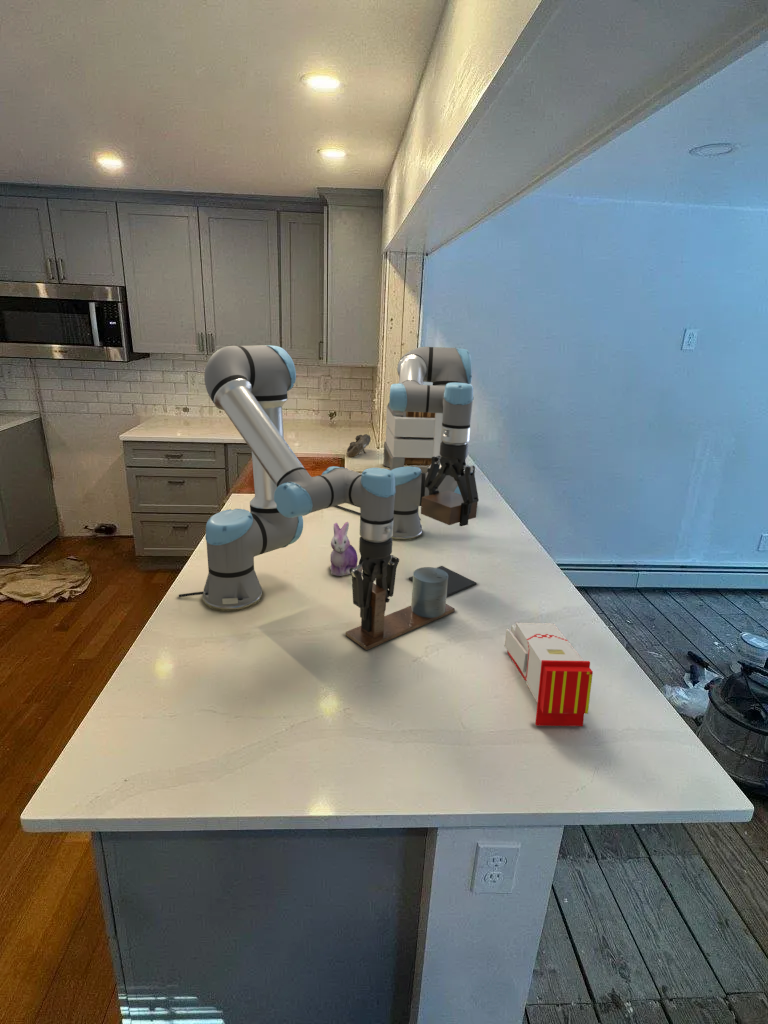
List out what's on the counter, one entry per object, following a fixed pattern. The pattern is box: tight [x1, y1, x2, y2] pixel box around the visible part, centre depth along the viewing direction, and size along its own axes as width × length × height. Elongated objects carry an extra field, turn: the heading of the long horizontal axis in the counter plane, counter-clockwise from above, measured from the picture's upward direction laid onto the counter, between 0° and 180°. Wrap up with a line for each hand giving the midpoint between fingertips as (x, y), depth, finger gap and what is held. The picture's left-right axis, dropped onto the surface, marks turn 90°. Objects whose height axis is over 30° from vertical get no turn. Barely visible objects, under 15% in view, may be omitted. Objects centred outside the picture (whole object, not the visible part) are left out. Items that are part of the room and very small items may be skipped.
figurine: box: [329, 521, 359, 577], centre depth 168 cm, size 9×10×15 cm
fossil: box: [346, 433, 372, 458], centre depth 305 cm, size 22×10×15 cm
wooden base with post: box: [345, 566, 455, 651], centre depth 141 cm, size 30×9×13 cm, turn 131°
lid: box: [420, 491, 479, 526], centre depth 158 cm, size 11×11×5 cm
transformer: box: [383, 402, 435, 471], centre depth 268 cm, size 34×33×41 cm
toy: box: [503, 622, 594, 727], centre depth 121 cm, size 12×13×30 cm
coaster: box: [408, 565, 477, 598], centre depth 166 cm, size 14×14×1 cm
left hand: (372, 626), depth 136 cm, fingers closed on wooden base with post, 3 cm apart
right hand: (448, 518), depth 159 cm, fingers closed on lid, 11 cm apart
